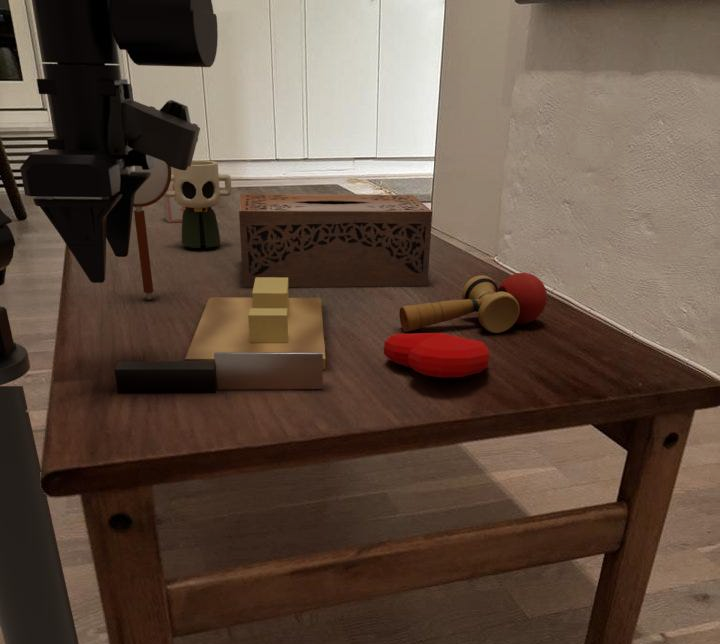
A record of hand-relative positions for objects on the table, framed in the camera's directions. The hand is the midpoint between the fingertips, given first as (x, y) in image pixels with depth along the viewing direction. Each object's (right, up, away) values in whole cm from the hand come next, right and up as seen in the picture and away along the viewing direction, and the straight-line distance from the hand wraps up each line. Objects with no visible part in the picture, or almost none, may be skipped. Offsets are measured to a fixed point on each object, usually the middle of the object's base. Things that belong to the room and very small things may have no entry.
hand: (110, 268), depth 65 cm
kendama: (+35, 0, +24) cm, 43 cm away
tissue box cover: (+18, +12, +44) cm, 49 cm away
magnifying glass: (-5, +5, +30) cm, 31 cm away
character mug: (-4, +20, +58) cm, 61 cm away
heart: (+30, -8, +10) cm, 33 cm away
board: (+11, -2, +19) cm, 22 cm away
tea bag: (-12, +32, +78) cm, 85 cm away
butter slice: (+12, -3, +14) cm, 19 cm away
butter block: (+11, +2, +24) cm, 26 cm away
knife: (+9, -10, +5) cm, 14 cm away
